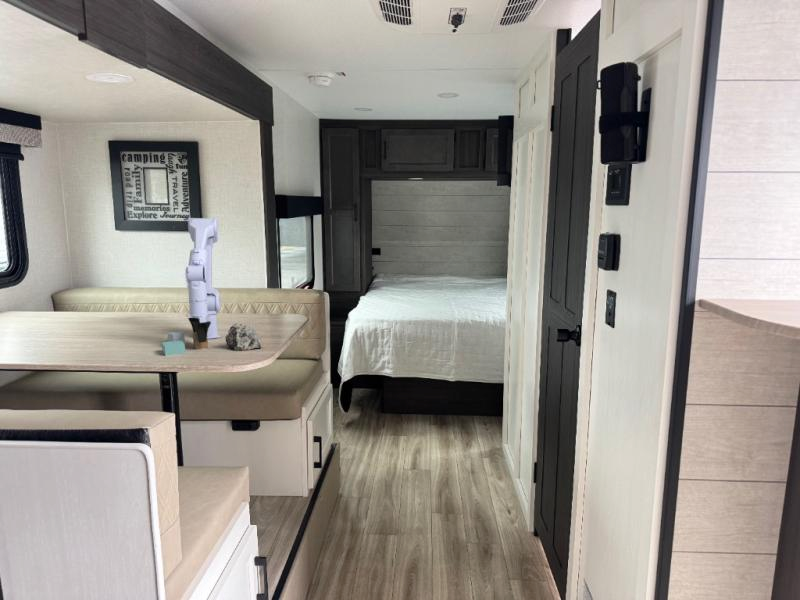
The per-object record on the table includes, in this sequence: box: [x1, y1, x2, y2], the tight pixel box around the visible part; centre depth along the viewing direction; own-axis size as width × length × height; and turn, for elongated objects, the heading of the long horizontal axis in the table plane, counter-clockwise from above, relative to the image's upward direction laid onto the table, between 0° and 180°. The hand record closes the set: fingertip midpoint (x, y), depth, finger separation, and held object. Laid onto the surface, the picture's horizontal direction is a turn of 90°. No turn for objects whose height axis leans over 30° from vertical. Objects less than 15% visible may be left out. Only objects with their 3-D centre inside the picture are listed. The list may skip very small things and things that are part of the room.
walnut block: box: [192, 332, 209, 350], centre depth 181 cm, size 4×4×5 cm
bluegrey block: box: [167, 330, 186, 345], centre depth 182 cm, size 4×4×5 cm
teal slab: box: [161, 340, 186, 357], centre depth 174 cm, size 6×6×4 cm
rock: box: [225, 323, 263, 351], centre depth 181 cm, size 13×10×10 cm
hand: (200, 339), depth 181 cm, fingers open, 7 cm apart
